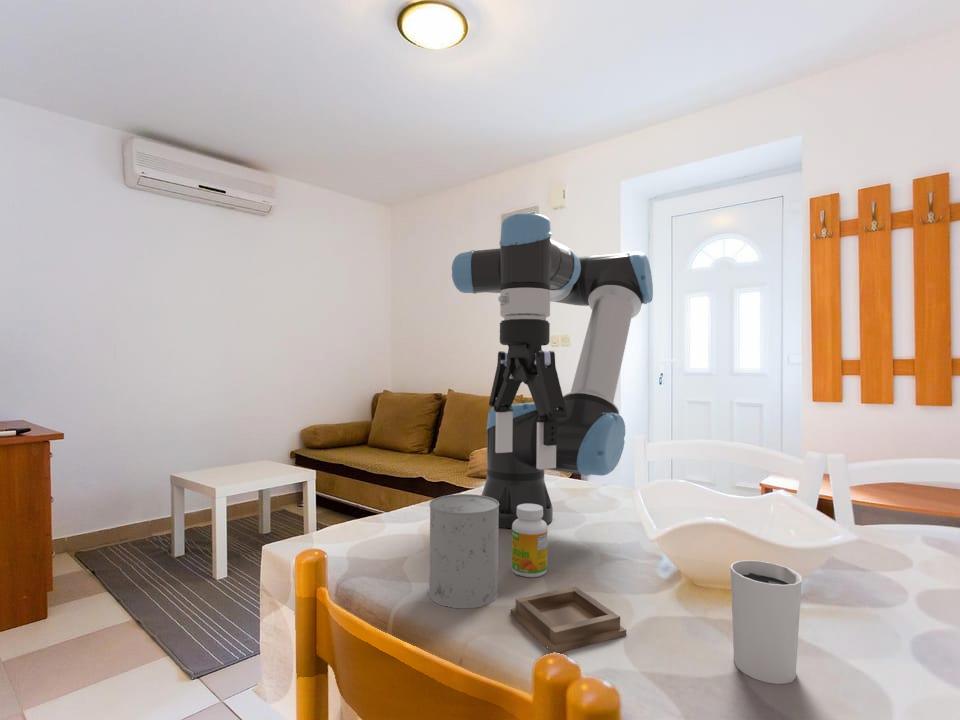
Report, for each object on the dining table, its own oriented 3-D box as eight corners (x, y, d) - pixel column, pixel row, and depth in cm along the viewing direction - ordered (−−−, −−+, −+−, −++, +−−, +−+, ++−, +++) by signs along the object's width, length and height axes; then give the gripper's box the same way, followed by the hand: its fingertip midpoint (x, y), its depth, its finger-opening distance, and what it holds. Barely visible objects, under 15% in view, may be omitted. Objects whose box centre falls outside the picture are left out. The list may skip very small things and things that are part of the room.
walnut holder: (576, 599, 71) (576, 584, 71) (626, 635, 62) (626, 617, 62) (510, 613, 67) (510, 597, 67) (553, 653, 58) (553, 635, 58)
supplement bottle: (504, 571, 81) (504, 506, 81) (526, 561, 85) (526, 500, 85) (532, 581, 77) (533, 514, 77) (554, 570, 81) (554, 506, 81)
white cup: (731, 677, 54) (733, 579, 54) (727, 645, 60) (728, 556, 60) (807, 693, 52) (808, 589, 52) (794, 657, 58) (795, 565, 58)
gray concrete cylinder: (419, 584, 76) (420, 497, 76) (481, 574, 80) (482, 491, 80) (442, 614, 67) (443, 516, 67) (510, 601, 71) (511, 508, 71)
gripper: (470, 323, 91) (469, 448, 91) (544, 311, 68) (543, 479, 68) (510, 324, 94) (509, 445, 94) (594, 314, 71) (592, 474, 71)
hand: (523, 459), depth 81 cm, fingers open, 13 cm apart
